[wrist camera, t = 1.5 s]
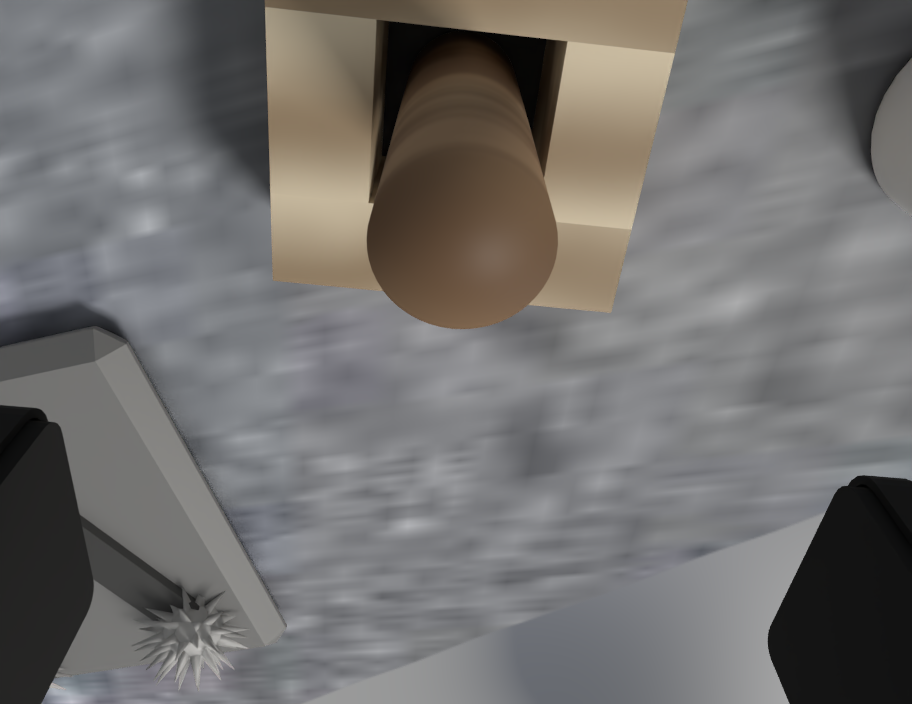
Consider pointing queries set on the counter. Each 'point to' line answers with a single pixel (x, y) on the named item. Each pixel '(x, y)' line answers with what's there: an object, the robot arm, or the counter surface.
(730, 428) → the counter surface
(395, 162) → the walnut peg
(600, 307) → the eye block
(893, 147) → the milk bottle
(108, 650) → the decorative plate
